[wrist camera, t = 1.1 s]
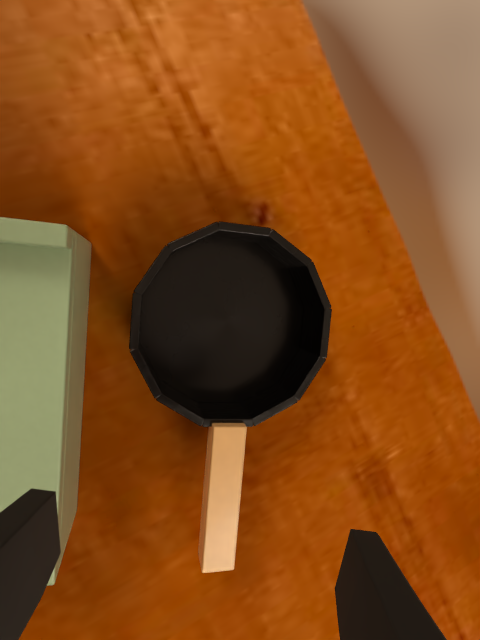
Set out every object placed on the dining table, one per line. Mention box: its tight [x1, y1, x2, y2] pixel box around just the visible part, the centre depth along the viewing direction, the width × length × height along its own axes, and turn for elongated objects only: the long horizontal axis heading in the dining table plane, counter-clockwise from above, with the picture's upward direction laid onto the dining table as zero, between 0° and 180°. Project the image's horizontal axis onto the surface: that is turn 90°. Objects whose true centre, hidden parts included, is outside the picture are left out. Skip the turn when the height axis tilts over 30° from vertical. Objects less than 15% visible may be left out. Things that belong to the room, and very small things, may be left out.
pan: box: [129, 222, 332, 573], centre depth 20 cm, size 17×10×4 cm, turn 175°
